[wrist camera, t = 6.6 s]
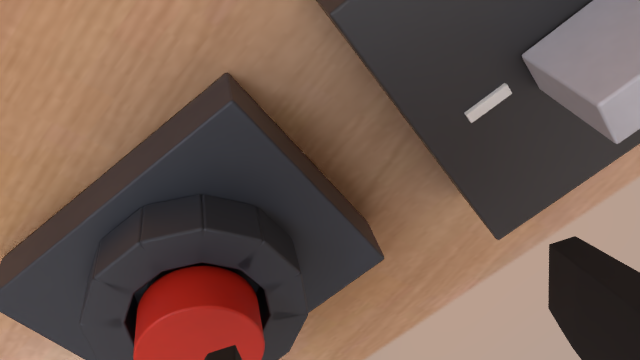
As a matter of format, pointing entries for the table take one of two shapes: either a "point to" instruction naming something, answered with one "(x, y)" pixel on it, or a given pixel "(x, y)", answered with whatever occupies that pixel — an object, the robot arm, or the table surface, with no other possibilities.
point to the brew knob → (594, 66)
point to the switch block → (190, 231)
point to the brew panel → (479, 97)
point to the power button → (198, 316)
